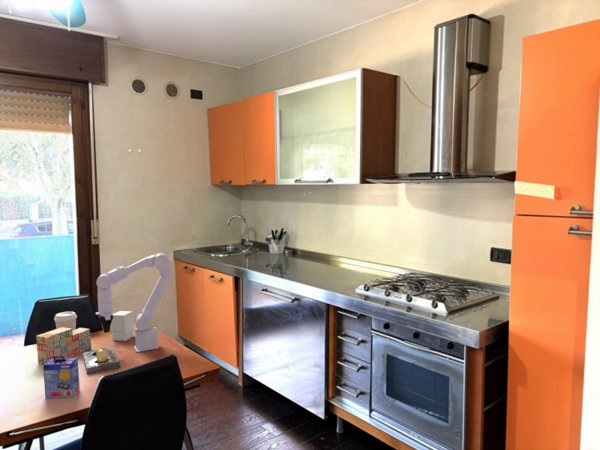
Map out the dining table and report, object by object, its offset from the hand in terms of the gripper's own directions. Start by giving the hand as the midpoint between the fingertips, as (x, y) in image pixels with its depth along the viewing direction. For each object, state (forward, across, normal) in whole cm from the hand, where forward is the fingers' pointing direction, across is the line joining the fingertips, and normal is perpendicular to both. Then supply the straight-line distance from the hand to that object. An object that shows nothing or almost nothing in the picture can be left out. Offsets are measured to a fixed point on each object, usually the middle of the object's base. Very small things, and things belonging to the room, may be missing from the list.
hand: (106, 332), depth 194 cm
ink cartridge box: (+10, +35, -19) cm, 41 cm away
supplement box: (+10, -17, +9) cm, 21 cm away
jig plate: (+9, +11, -4) cm, 15 cm away
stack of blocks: (+10, -6, -16) cm, 20 cm away
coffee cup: (+10, -21, -15) cm, 28 cm away
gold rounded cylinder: (+9, +16, -4) cm, 19 cm away
